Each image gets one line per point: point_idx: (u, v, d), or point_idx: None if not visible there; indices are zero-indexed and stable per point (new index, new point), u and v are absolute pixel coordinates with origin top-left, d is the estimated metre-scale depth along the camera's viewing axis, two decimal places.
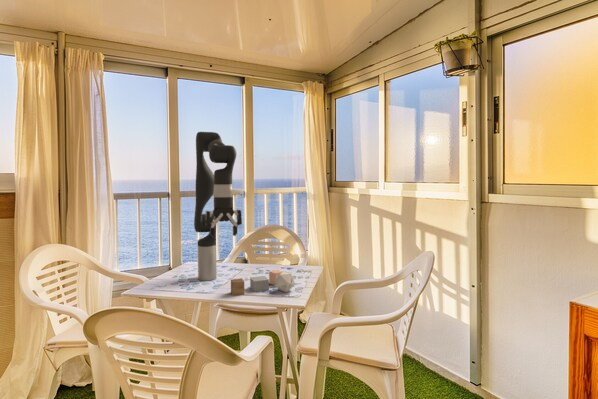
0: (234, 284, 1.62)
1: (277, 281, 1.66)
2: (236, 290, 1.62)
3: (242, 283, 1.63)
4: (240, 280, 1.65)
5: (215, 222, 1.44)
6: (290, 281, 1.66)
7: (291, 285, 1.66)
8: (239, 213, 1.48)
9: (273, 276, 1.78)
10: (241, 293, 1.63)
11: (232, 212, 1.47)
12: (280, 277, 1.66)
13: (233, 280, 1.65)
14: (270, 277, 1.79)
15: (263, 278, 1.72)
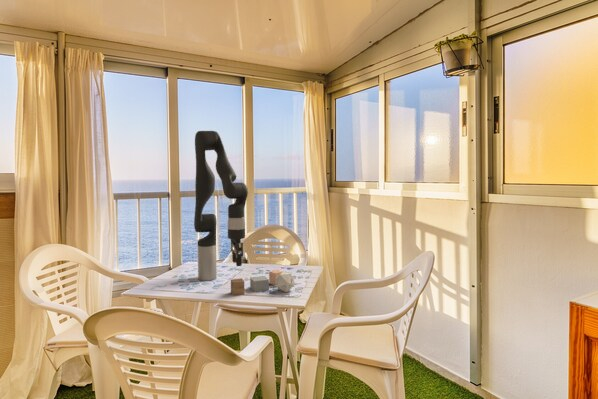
0: (234, 284, 1.62)
1: (277, 281, 1.66)
2: (236, 290, 1.62)
3: (242, 283, 1.63)
4: (240, 280, 1.65)
5: None
6: (290, 281, 1.66)
7: (291, 285, 1.66)
8: None
9: (273, 276, 1.78)
10: (241, 293, 1.63)
11: None
12: (280, 277, 1.66)
13: (232, 280, 1.65)
14: (270, 277, 1.79)
15: (263, 278, 1.72)
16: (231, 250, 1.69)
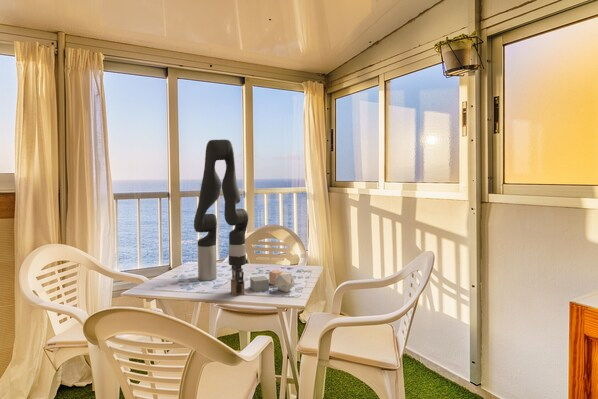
0: (234, 284, 1.62)
1: (277, 281, 1.66)
2: None
3: None
4: None
5: None
6: (290, 281, 1.66)
7: (291, 285, 1.66)
8: None
9: (273, 276, 1.78)
10: (241, 293, 1.63)
11: None
12: (280, 277, 1.66)
13: (233, 280, 1.65)
14: (270, 277, 1.79)
15: (263, 278, 1.72)
16: (232, 277, 1.68)
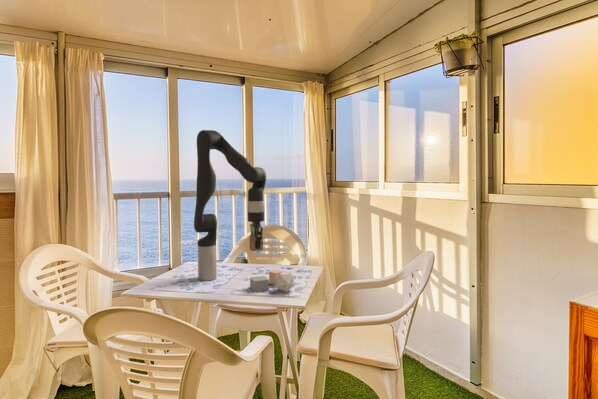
0: (253, 240, 1.66)
1: (277, 281, 1.66)
2: None
3: None
4: (258, 236, 1.69)
5: None
6: (290, 281, 1.66)
7: (291, 285, 1.66)
8: None
9: (273, 276, 1.78)
10: (260, 249, 1.67)
11: None
12: (280, 277, 1.66)
13: (251, 236, 1.69)
14: (270, 277, 1.79)
15: (263, 278, 1.72)
16: (251, 235, 1.73)
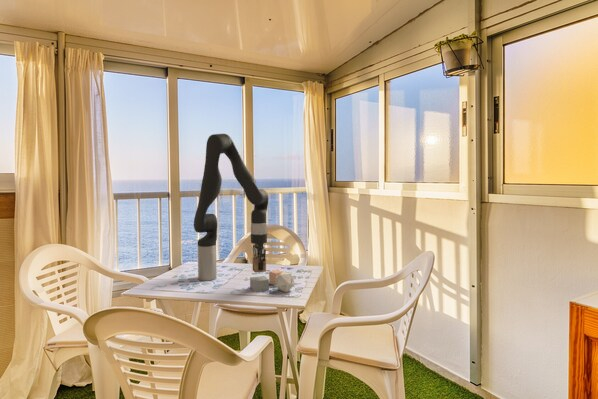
0: (256, 261, 1.68)
1: (277, 281, 1.66)
2: None
3: None
4: (261, 258, 1.71)
5: (263, 256, 1.69)
6: (290, 281, 1.66)
7: (291, 285, 1.66)
8: None
9: (273, 276, 1.78)
10: (263, 270, 1.69)
11: None
12: (280, 277, 1.66)
13: (254, 257, 1.71)
14: (270, 277, 1.79)
15: (263, 278, 1.72)
16: (254, 256, 1.75)
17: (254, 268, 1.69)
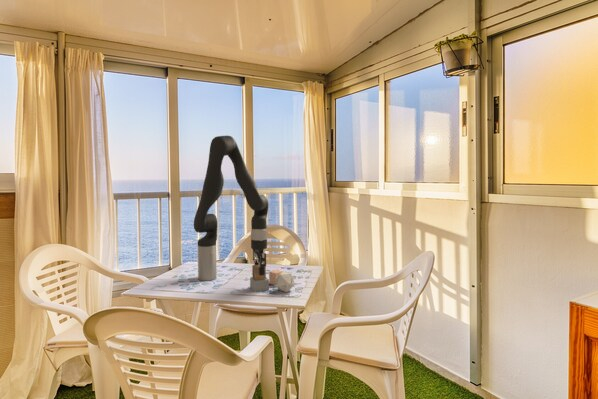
0: (256, 269, 1.68)
1: (277, 281, 1.66)
2: (258, 275, 1.69)
3: None
4: None
5: None
6: (290, 281, 1.66)
7: (291, 285, 1.66)
8: None
9: (273, 276, 1.78)
10: (263, 278, 1.70)
11: None
12: (280, 277, 1.66)
13: (254, 265, 1.71)
14: (270, 277, 1.79)
15: None
16: (253, 259, 1.76)
17: (254, 276, 1.70)
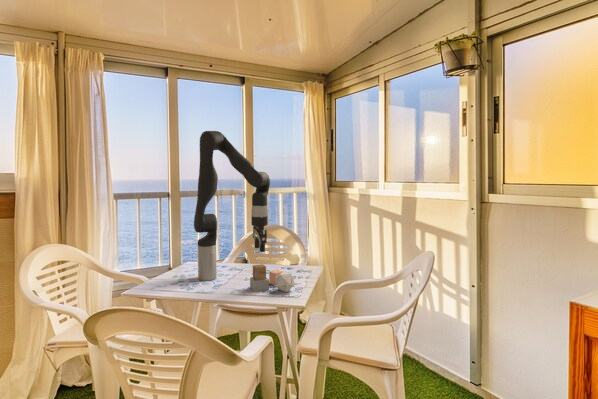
0: (256, 269, 1.68)
1: (277, 281, 1.66)
2: (258, 275, 1.69)
3: (264, 268, 1.69)
4: (261, 265, 1.71)
5: (265, 238, 1.68)
6: (290, 281, 1.66)
7: (291, 285, 1.66)
8: None
9: (273, 276, 1.78)
10: (263, 278, 1.70)
11: None
12: (280, 277, 1.66)
13: (255, 265, 1.72)
14: (270, 277, 1.79)
15: None
16: (253, 237, 1.76)
17: (254, 276, 1.70)
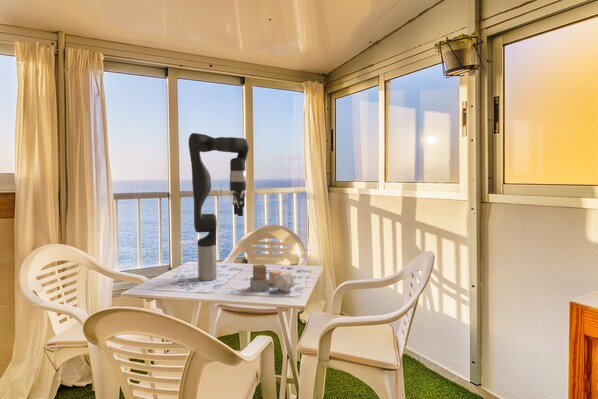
0: (256, 269, 1.68)
1: (277, 281, 1.66)
2: (258, 275, 1.69)
3: (264, 268, 1.69)
4: (262, 265, 1.71)
5: (243, 203, 1.70)
6: (290, 281, 1.66)
7: (291, 285, 1.66)
8: None
9: (273, 276, 1.78)
10: (263, 278, 1.70)
11: None
12: (280, 277, 1.66)
13: (255, 265, 1.72)
14: (270, 277, 1.79)
15: None
16: (233, 203, 1.78)
17: (254, 276, 1.70)
